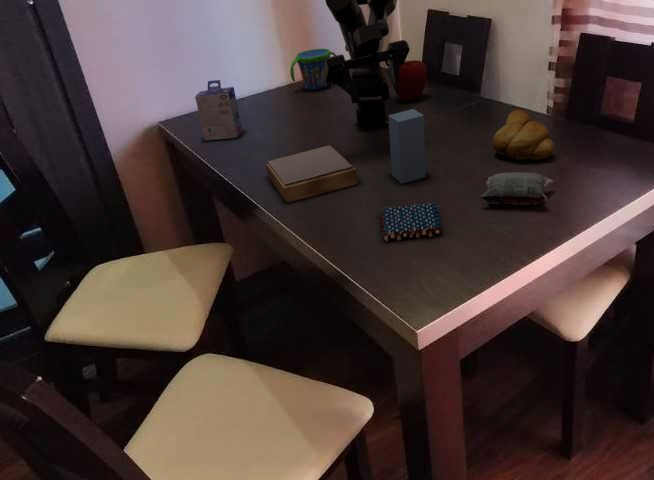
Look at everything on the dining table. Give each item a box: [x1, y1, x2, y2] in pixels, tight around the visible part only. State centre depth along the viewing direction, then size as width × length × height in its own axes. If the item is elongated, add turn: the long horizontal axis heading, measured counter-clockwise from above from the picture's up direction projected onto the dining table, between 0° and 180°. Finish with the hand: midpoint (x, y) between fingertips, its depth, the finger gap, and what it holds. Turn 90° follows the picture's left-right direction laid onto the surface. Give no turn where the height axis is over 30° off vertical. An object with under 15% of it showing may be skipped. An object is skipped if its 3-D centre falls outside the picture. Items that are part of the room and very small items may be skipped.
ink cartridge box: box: [194, 79, 244, 142], centre depth 169 cm, size 10×6×14 cm, turn 79°
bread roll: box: [492, 108, 555, 161], centre depth 130 cm, size 13×10×8 cm
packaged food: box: [480, 171, 554, 206], centre depth 116 cm, size 9×12×5 cm
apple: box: [393, 59, 428, 102], centre depth 170 cm, size 10×10×10 cm
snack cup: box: [289, 48, 337, 91], centre depth 193 cm, size 16×10×10 cm
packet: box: [387, 108, 427, 184], centre depth 129 cm, size 6×5×13 cm
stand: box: [265, 145, 358, 204], centre depth 138 cm, size 16×16×4 cm
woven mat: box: [380, 202, 443, 243], centre depth 115 cm, size 10×11×2 cm
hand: (377, 95), depth 136 cm, fingers open, 9 cm apart
